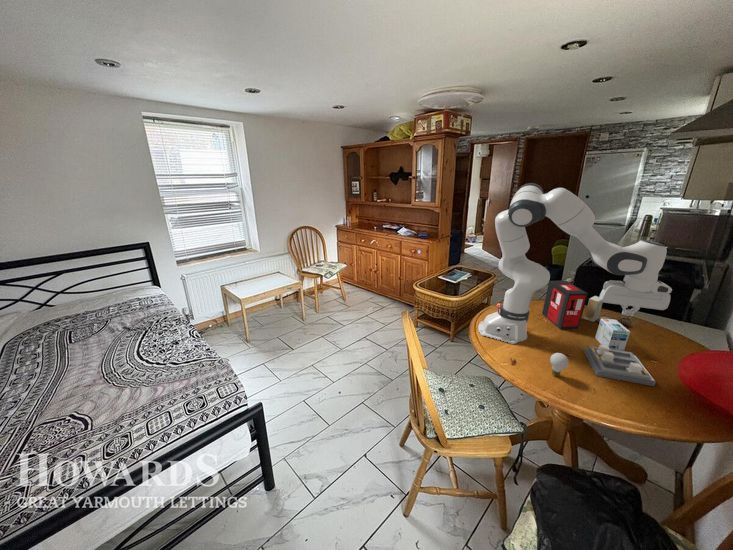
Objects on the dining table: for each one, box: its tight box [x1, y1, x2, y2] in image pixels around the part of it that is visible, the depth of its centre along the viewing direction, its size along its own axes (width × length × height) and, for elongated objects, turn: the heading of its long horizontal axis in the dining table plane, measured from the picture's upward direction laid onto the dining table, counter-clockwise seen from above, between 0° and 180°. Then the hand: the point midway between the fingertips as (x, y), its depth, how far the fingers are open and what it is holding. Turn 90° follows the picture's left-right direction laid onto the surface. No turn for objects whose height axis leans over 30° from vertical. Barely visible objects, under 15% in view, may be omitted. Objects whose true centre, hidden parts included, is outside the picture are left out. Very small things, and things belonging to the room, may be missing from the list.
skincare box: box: [583, 295, 604, 323], centre depth 151 cm, size 6×4×12 cm
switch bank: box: [583, 345, 657, 387], centre depth 117 cm, size 18×17×3 cm
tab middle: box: [600, 351, 614, 362], centre depth 117 cm, size 4×3×4 cm
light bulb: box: [549, 352, 569, 377], centre depth 112 cm, size 6×6×10 cm
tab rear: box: [596, 344, 610, 354], centre depth 122 cm, size 4×3×4 cm
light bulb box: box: [594, 318, 631, 351], centre depth 130 cm, size 11×7×11 cm, turn 168°
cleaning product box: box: [541, 280, 589, 331], centre depth 149 cm, size 16×9×20 cm, turn 179°
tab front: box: [626, 362, 642, 374], centre depth 111 cm, size 4×3×4 cm
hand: (627, 315), depth 113 cm, fingers closed
